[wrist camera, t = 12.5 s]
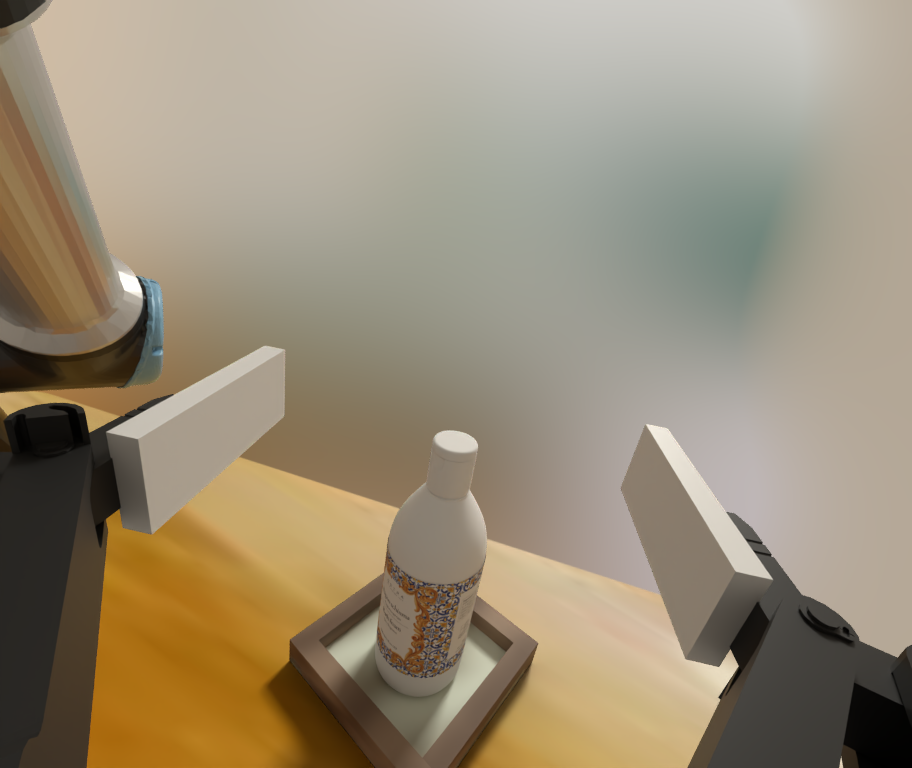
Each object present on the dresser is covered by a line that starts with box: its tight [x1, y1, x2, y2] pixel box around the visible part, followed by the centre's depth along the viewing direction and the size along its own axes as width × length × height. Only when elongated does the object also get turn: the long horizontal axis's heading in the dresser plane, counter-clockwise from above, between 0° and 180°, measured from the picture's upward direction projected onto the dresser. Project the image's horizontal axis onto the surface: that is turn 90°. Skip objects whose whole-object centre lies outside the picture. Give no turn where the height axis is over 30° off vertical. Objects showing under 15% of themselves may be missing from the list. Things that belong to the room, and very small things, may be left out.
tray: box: [290, 573, 538, 768], centre depth 35 cm, size 14×14×2 cm
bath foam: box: [375, 431, 487, 697], centre depth 31 cm, size 7×7×20 cm
